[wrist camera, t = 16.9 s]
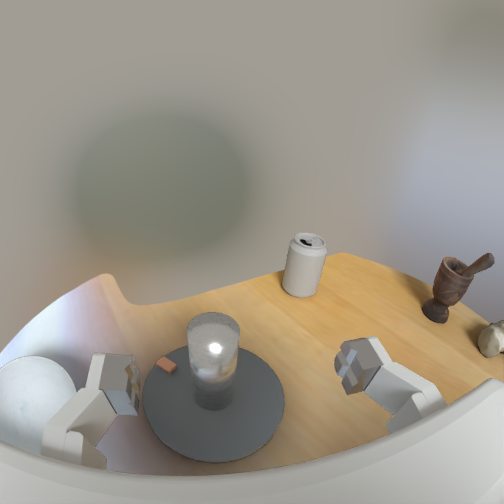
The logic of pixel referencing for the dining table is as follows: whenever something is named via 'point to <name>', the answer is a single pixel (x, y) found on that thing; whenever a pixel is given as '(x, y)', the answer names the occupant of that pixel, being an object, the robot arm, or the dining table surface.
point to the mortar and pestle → (452, 285)
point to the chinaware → (31, 399)
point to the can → (304, 265)
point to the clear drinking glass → (213, 358)
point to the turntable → (213, 422)
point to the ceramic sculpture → (492, 339)
